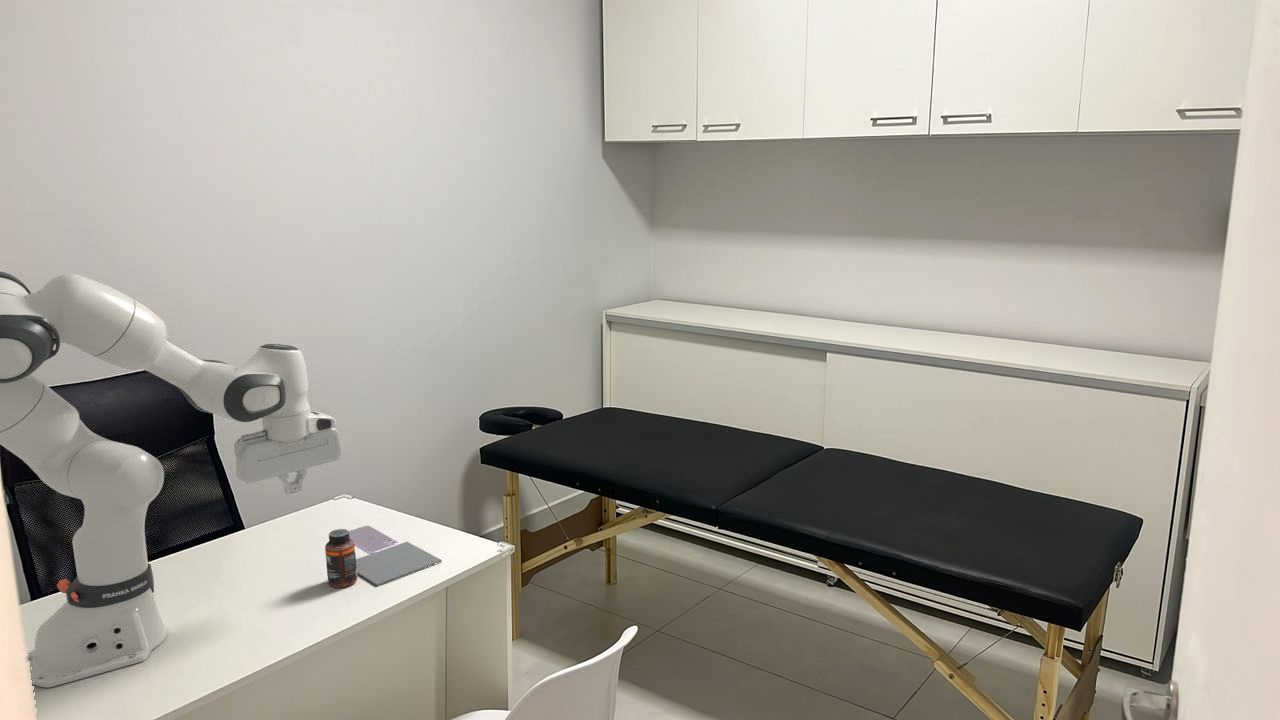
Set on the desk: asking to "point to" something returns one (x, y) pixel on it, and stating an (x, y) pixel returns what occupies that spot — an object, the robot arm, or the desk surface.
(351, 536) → the mobile phone
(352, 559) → the supplement bottle
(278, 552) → the desk surface
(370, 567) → the mat
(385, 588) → the desk surface
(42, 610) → the desk surface
